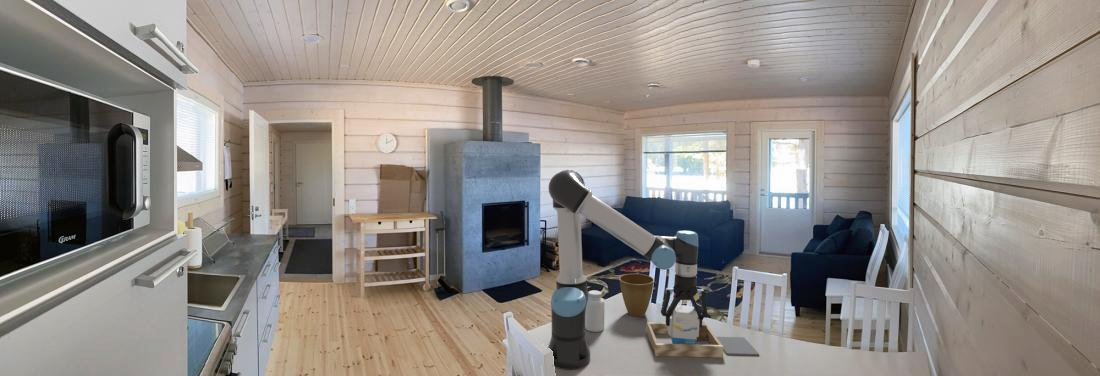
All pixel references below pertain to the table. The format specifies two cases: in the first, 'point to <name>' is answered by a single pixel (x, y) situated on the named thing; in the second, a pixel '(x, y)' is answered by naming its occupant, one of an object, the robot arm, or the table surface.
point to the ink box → (684, 325)
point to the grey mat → (737, 346)
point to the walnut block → (702, 332)
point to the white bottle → (594, 312)
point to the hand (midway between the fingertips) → (683, 334)
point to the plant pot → (636, 293)
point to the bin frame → (683, 349)
